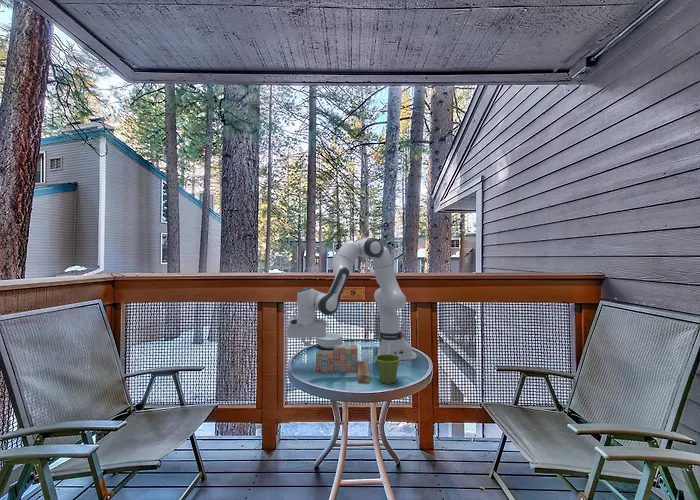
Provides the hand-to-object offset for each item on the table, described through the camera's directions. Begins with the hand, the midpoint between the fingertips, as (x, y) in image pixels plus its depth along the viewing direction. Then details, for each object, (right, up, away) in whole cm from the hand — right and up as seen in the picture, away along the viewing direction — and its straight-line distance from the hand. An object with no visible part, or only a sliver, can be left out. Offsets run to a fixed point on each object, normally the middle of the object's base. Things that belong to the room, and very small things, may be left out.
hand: (307, 345), depth 183 cm
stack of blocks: (+15, -13, 0) cm, 20 cm away
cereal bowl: (+9, -12, +40) cm, 43 cm away
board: (+29, -13, -8) cm, 32 cm away
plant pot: (+40, -13, -16) cm, 45 cm away
